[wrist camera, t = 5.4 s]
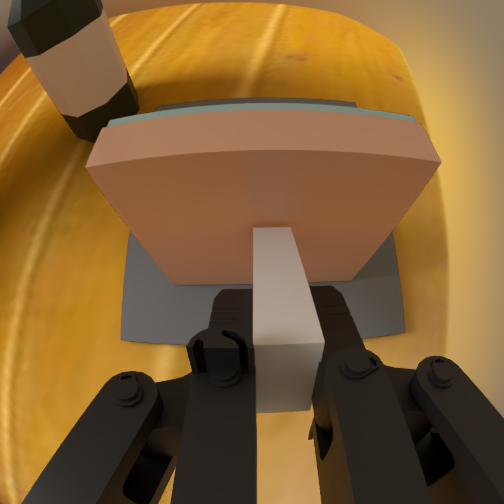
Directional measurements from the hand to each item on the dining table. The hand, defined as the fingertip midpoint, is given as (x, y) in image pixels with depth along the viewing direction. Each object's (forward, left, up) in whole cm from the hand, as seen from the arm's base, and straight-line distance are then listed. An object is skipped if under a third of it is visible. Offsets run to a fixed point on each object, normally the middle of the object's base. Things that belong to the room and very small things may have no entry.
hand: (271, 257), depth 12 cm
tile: (-1, +1, -7) cm, 7 cm away
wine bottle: (-26, -4, -8) cm, 27 cm away
